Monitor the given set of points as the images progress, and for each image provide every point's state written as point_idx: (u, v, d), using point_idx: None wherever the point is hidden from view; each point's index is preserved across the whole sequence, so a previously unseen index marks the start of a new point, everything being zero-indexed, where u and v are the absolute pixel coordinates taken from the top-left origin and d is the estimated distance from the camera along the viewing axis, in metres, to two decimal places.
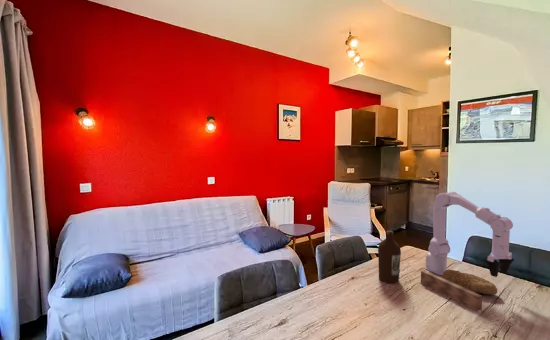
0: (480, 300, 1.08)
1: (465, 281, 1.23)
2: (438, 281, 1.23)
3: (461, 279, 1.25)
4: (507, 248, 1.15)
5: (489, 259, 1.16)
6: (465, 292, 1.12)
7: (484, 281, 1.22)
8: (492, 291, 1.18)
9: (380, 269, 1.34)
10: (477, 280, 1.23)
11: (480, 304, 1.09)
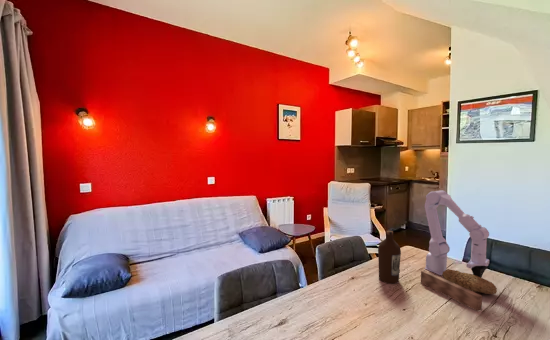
0: (480, 300, 1.08)
1: (464, 281, 1.23)
2: (438, 281, 1.23)
3: (461, 279, 1.25)
4: (484, 256, 1.25)
5: (467, 266, 1.26)
6: (465, 292, 1.12)
7: (484, 281, 1.22)
8: (492, 291, 1.18)
9: (380, 269, 1.34)
10: (477, 280, 1.23)
11: (480, 304, 1.09)
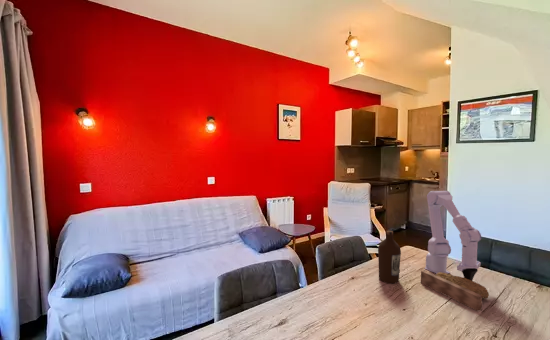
0: (480, 300, 1.08)
1: None
2: (438, 281, 1.23)
3: (452, 282, 1.22)
4: (475, 258, 1.22)
5: (458, 269, 1.23)
6: (465, 292, 1.12)
7: (475, 284, 1.19)
8: (483, 295, 1.14)
9: (380, 269, 1.34)
10: (468, 283, 1.20)
11: (480, 304, 1.09)
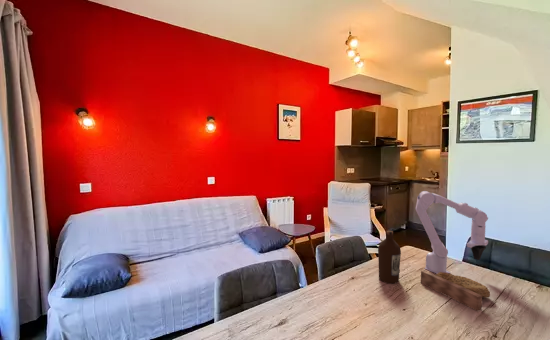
0: (480, 300, 1.08)
1: (457, 284, 1.20)
2: (438, 281, 1.23)
3: (453, 282, 1.22)
4: (483, 236, 1.34)
5: (467, 246, 1.35)
6: (465, 292, 1.12)
7: (476, 284, 1.20)
8: (485, 294, 1.15)
9: (380, 269, 1.34)
10: (469, 283, 1.20)
11: (480, 304, 1.09)
